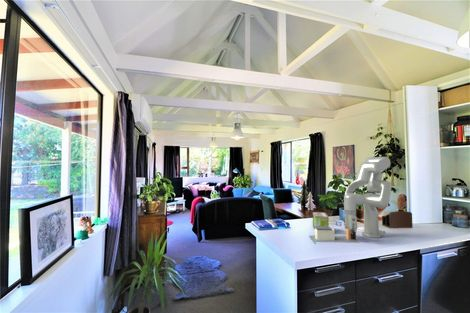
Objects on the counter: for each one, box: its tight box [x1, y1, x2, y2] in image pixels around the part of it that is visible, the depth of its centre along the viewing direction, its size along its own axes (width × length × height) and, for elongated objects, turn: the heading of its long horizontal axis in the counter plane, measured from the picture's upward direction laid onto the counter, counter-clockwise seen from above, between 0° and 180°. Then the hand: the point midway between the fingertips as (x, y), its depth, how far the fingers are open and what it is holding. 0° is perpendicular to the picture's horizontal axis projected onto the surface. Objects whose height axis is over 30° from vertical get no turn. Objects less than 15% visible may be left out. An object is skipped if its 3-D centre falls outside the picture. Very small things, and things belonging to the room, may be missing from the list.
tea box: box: [312, 211, 330, 233], centre depth 181 cm, size 15×10×15 cm, turn 168°
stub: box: [345, 227, 354, 240], centre depth 161 cm, size 5×4×7 cm
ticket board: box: [308, 226, 360, 245], centre depth 162 cm, size 30×14×9 cm, turn 87°
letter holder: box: [381, 210, 414, 229], centre depth 197 cm, size 10×20×14 cm, turn 93°
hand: (350, 237), depth 161 cm, fingers open, 7 cm apart
